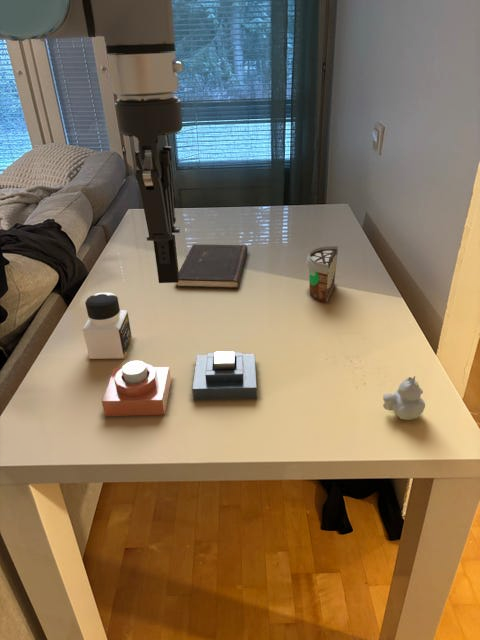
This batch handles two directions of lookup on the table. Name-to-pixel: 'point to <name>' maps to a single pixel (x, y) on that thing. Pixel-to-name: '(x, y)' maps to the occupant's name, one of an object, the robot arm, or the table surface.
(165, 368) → the orange button base
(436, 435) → the table surface
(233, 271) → the hardcover book
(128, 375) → the white round push button
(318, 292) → the food container
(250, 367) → the push button base
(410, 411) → the white lumpy figurine
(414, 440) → the table surface
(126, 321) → the medicine bottle
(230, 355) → the pump square
